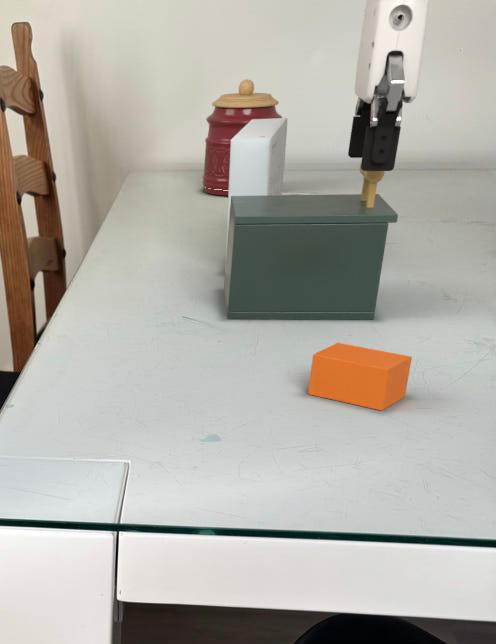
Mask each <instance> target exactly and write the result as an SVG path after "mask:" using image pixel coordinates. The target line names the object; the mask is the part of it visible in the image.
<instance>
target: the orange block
mask: <svg viewBox="0 0 496 644" xmlns="http://www.w3.org/2000/svg"><path fill="white" fill-rule="evenodd" d="M412 358H413V356H411V355H404V354H399V353H394V352H390V351H385V350H379V349H373V348H368V347H363V346H357V345H353V344H347V343H342V342H336V343H334V344H331V345H330V346H328V347H326V348H324V349H321V350H320V351H318V352H315V353H313V354H312V359H311V360H312V361H311V369H310V376H309V382H308V383H309V384H308V391H307V394H308V395H310V396H315V397H319V398H323V399H328V400H332V401H337V402H342V403H345V404H350V405H354V406H359V407H363V408H367V409H372V410H375V411H376V410H377V411H381V412H382V411H384V410H385V409H387V408H389V407H391V406H392V405H394V404H395V403H398V402H399V401H401V400H403V399H404V398H405V397H406V394H407V393H406V392H407V386H408V381H409V376H410V370H411V364H412V361H413V360H412Z"/></svg>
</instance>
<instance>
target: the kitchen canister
mask: <svg viewBox="0 0 496 644" xmlns="http://www.w3.org/2000/svg"><path fill="white" fill-rule="evenodd" d="M254 91H255V84H254V82H253V81H252V79H243V80H242V81H241V82H240V83H239V85H238V92H236V93H234V92H233V93H226V94H225V93H224V94H221V95H220V96H219V98H217V99H216V100H215V101H213V102H211V106H213V107H214V108H213V111H212V113H211V114H210V115H208V116H207V117H206V119H205V120H206V122H207V123H208V131H207V137H206V138H205V139H204V142H205V148H204V149H205V152H204V167H203V175H202V186H203V188H202V189H203V192H204V193H206V194H210V195H216V196H227V197H228V193H229V191H223V190H229V172H230V148H231V139H232V138H233V137H234V136H235V135H236V134H237V133H238V132H240V131H241V130H242V129H243V128H244V127H245V126H246V125H247V124H248V123H249V122H250V121H251V120H252V119H274V118H283V116H282V115H281V114H280V113H279V112H278V111H277V108H276V106H278V105H279V103H280V102H279V101H278V100H277V99H276V98H274V97H273V95H272V93H271V94H270V93H267V92H254ZM205 187H206V188H205ZM208 188H211V189H208ZM214 189H222V190H214Z"/></svg>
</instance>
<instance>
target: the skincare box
mask: <svg viewBox="0 0 496 644" xmlns="http://www.w3.org/2000/svg"><path fill="white" fill-rule="evenodd" d="M287 131H288V117H282V118H274V119H252V120H251V121H250V122H249V123H248V124H247V125H246V126H245V127H244V128H243V129H242V130H241V131H240V132H238V133H237V134H236V135H235V136H234V137H233V138H232V139H231V148H230V172H229V193H228V196H227V197H228V199H227V221H226V241H225V242H226V245H225V246H226V247H225V258H226V257H227V244H228V231H229V217H230V205H231V196H268V195H282V193H284V192H283V189H284V175H285V165H286V148H287V133H288V132H287ZM225 270H226V264H225V267H224V271H225Z"/></svg>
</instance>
